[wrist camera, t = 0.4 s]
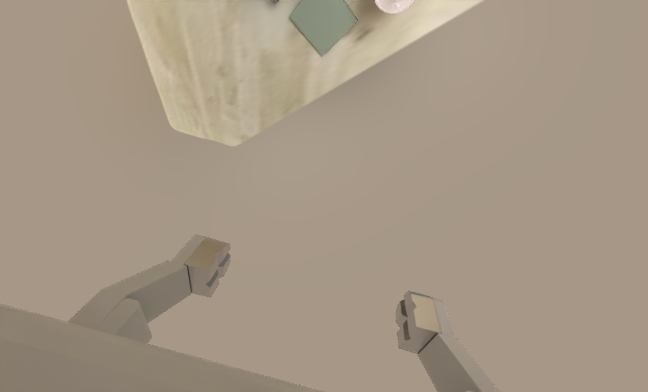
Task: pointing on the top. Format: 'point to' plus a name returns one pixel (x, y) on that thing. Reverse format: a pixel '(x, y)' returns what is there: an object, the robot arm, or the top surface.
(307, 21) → the rubber mat
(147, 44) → the top surface
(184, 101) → the top surface
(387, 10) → the smoothie
